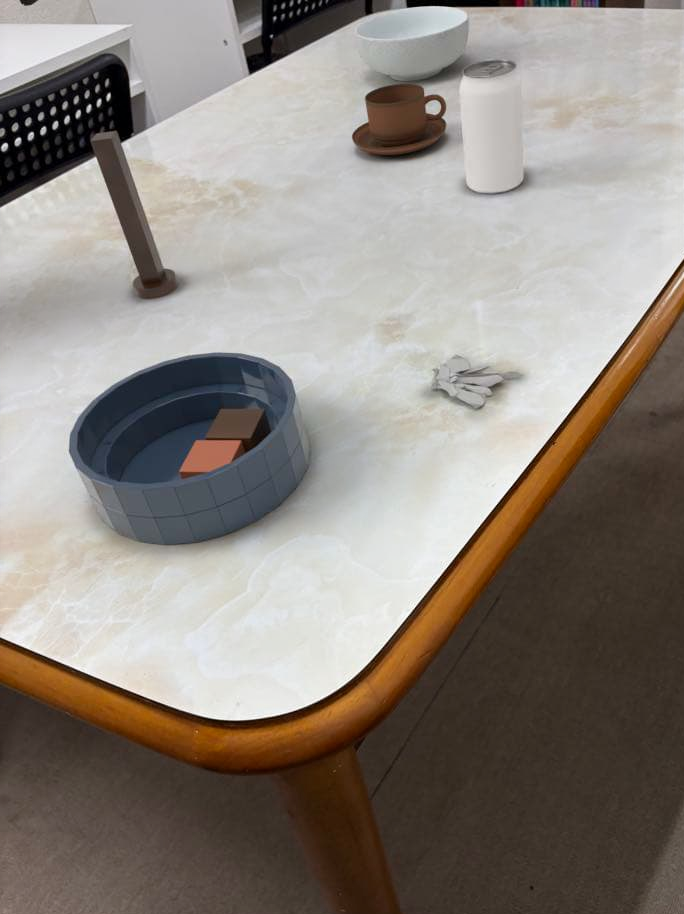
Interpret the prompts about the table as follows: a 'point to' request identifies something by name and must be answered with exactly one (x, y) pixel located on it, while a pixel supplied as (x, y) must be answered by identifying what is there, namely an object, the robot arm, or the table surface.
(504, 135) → the can
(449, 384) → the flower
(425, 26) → the cereal bowl
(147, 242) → the stirrer
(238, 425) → the block walnut
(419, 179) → the table surface
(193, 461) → the block terracotta
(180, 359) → the bowl
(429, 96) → the cup and saucer
